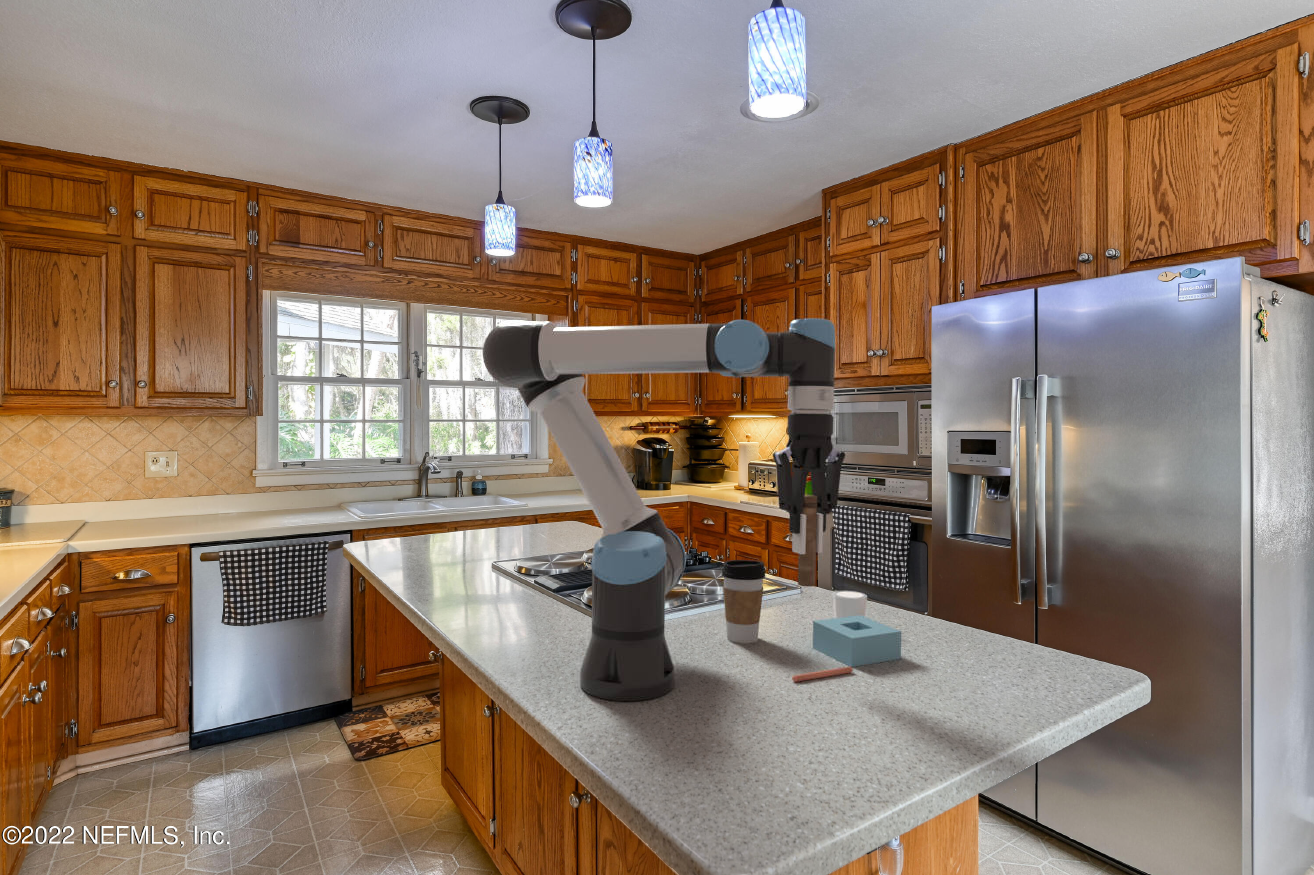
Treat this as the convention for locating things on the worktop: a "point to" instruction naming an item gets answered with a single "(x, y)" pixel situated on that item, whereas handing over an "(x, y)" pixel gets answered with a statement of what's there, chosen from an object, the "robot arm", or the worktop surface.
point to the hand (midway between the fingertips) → (807, 551)
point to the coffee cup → (743, 599)
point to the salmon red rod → (822, 674)
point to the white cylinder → (849, 603)
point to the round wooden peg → (808, 543)
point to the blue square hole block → (856, 640)
